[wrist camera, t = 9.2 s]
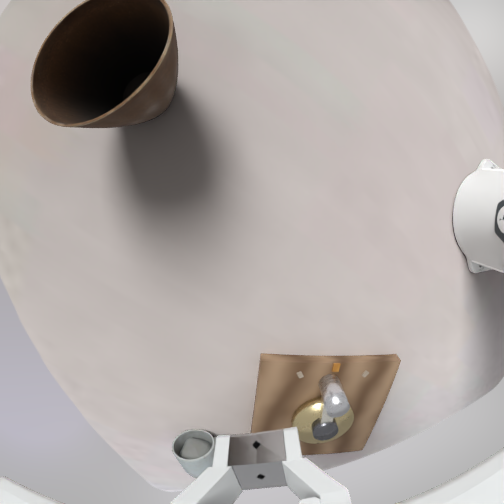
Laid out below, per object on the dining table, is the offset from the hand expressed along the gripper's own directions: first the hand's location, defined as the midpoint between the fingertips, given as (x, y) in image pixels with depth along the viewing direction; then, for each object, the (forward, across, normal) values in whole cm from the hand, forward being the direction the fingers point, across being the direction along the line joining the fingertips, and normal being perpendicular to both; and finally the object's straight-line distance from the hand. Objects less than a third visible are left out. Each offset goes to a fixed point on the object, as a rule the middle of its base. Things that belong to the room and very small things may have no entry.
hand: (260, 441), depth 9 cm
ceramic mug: (+30, +14, +33) cm, 46 cm away
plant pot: (+29, +10, -24) cm, 39 cm away
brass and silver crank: (+27, -7, +25) cm, 37 cm away
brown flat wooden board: (+29, -6, +27) cm, 40 cm away
